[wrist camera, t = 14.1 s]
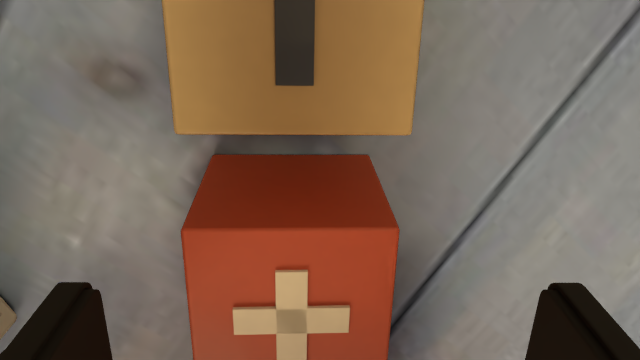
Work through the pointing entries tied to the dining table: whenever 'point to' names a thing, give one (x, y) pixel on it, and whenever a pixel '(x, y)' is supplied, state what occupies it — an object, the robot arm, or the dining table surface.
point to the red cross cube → (290, 259)
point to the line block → (293, 66)
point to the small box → (6, 317)
